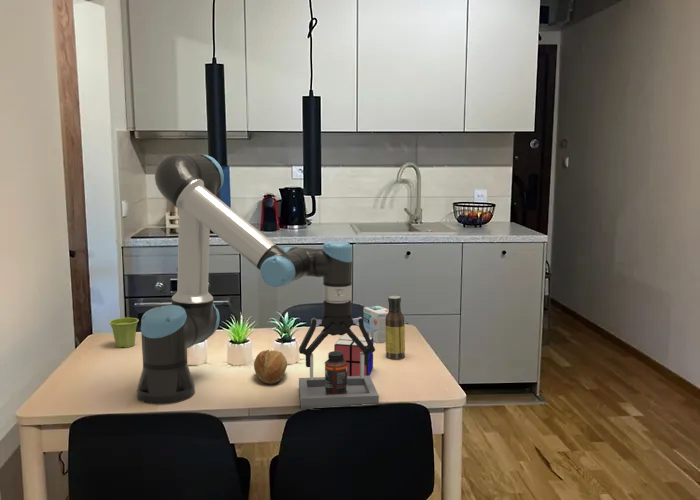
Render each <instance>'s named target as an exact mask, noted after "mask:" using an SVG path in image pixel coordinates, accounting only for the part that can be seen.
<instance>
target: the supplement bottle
mask: <svg viewBox="0 0 700 500" xmlns="http://www.w3.org/2000/svg"><path fill="white" fill-rule="evenodd" d="M327 353H328V355H327V356H328V359H326V361H325V362H324V375H325V376H324V377H325V392H326V394H327V395H337V394H346V393H347V362H346V361H345V360H344V359H343V352H341V351H333V350H332V351H329V352H327Z"/></svg>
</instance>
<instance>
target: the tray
mask: <svg viewBox="0 0 700 500" xmlns="http://www.w3.org/2000/svg"><path fill="white" fill-rule="evenodd" d="M298 393H299V400H300V401H299V402H300V407H301V408H300V409H301V411H303V410H306V409H310V410H314V409H313V408H319V407H332V406H351V405H362V404H379V400H380V399H379V397H380V395H379V393H378V391H377V389H376V386H375V385H374V382H373V380H372V378H371V376H370V375H369V376H364V379H361V377H360V376H347V393H346V394H337V395H327V394H326V392H325V376H319V377H318V376H317V377H316V376H313V380H310V377H298Z"/></svg>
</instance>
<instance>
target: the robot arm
mask: <svg viewBox="0 0 700 500" xmlns="http://www.w3.org/2000/svg"><path fill="white" fill-rule="evenodd" d="M224 176H225V175H224V170H223V168H222V166H221V165H220V163H219V162H218V161H217V160H216V159H215V158H214V157H212V156H210V155H208V154H201V153H186V154H185V153H184V154H183V153H175V154H170V155H167V156H166V157H164V158H162V160H161V161H159V163H158V164H157V166H156V168H155V172H154V180H155V181H154V182H155V185H156V187H157V189H158V191H159V192H160V194H161V195H162V196H163V197H164V198H165V199H166V200H167V201H168V202H169V203H170V204H171V205H173V206H174V207H175V208H177V210H178V234H177V235H178V237H177V238H178V239H177V240H178V242H177V290H176V293H175V294H173V295H172V296H171V304H168V305H161V306H156V307H152V308H150V309H149V310H147V311H145V312H144V313H143V314H142V317H141V319H140V320H141V325H140V333H141V351H142V352H141V353H142V371H141V373H140V378H139V381H138V385H137V389H136V393H137V394H136V397H137V399H138V400H139V401H141V402H144V403H146V404H156V405H159V404H160V405H164V404H165V405H166V404H171V403H178V402H182V401H185V400H187V399H189V398H191V397H192V396H194V394H195V393H196V389H195V387H196V386H195V385H196V384H195V381H194V379H193V378H194V377H193V376H192V373H191V371H190V368H189V365H188V349H190V348H191V347H193V346H195V345H198V344H199V343H203V342H205V341H206V340H209V338H210V337H212V336H213V335H214V334H215V333H216V332H217V330H218V328H219V325H220V320H221V319H220V318H221V317H220V312H219V309H218V308H217V307H216V305H215V303H214V296H213V295H212V294H211V293H210V292H209V275H210V274H209V273H210V272H209V270H210V269H209V267H210V266H209V265H210V237H211V236H210V234H211V232H213V234H215V235H216V236H218V237H219V238H220V239H221V240H222V241H223V242H225V243H226V244H227V245H228V246H230V247H231V248H232V249H234V251H236V253H238V254H239V255H241V256H242V257H243V258H244V259H246V260H247V261H248V262H249V263H250V264H251V265H253V267H256V269H258V270H259V272H260V276H261V279H262V280H263V282H264V283H265V284H266V285H268V286H269V287H272V288H278V287H284V286H285V287H286V286H287V285H289V284H291V283H292V282H293V281H297V280H299V279H301V278H303V277H313V278H314V277H315V278H322V281H323V282H322V290H323V291H322V292H323V293H322V297H323V300H324V301H323V302H322V318H316V317H314V316H313V317H311V319H310V326H309V328H308V330H307V331H306V333H305V336H304V337H303V340H302V342H301V343H300V346H299V348H298V352H299V354H303V355H304V356H305V367H306V368H309V378H310V380H313V377H314V354H313V352H314V351H315V350H316V349H317V348H318V347H319V345H321V343H322V342H323V340H324V339H326V338H327V337H328V336H329V335H331V336H345V335H346V336H349V337H350V338H351V339H352V340H353V341H354V342H355V343H356V345H357V346H358V347H359V348H360V349H361V350H362V351H363V352H360V377H361V379H364V366H367V365H368V354H369V353H370V352H373V353H374V352H375V351H376V348H375V346H374V343H373V344H372V342H371V340H370V338H369V336H368V334H367V332H366V330H365V328H364V323H363V317H362V316H358V317H356V318H353V317H352V309H353V308H352V307H353V305H352V301H351V300H352V296H353V295H352V288H353V287H352V283H353V282H352V276H353V275H352V274H353V252H352V245H351V244H350V243H349V242H346V241H339V240H338V241H333V240H332V241H330V240H329V241H325V243H323V246H322V248H309V247H299V246H290V247H289V246H288V247H283V248H281V247H279V246H278V245H277V244H276V243H275V242H273V241H272V240H271V239H270V238H268V237H267V236H266V235H265V234H263V233H262V232H261V231H259V230H258V229H257V228H256V227H255V226H253V225H252V224H251V223H250V222H249V221H247V220H246V219H245V218H244V217H243V216H241V215H240V214H239V213H237V212H236V211H235V210H234V209H233V208H231V207H230V206H228V205H227V204H226V203H225V202H224V201H223V200H221V199H220V198H219V197H218V196H217V194H218V193H219V191H220V190H221V189H222V187H223V185H224V181H225V180H224V179H225V177H224ZM210 231H211V232H210ZM354 324H355V326H356V327H358V328H359V330H360V332H361V334H362V337H364V338H365V340H366V342H367V344H368V346H369V347H367V348H366V347H365V346H364V345H363V343H362V342H361V341H360V340H359V339H358V338H357V337H358V336H357V335H356V334H355V333H354V332H353V331H352V329H351V327H352V326H353V325H354ZM320 325H322V327H323V329H322V330H320V331H321V332H320V333H319V334H318V335H317V336H316V337H315V339H314V340H313V341H312V342H311V343H310V345H309V342H310V341H311V338H312V336H313V335H314V333H315V331H316V328H318V327H319V326H320ZM308 345H309V346H308Z"/></svg>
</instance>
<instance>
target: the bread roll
mask: <svg viewBox="0 0 700 500" xmlns="http://www.w3.org/2000/svg"><path fill="white" fill-rule="evenodd" d="M287 367H288V361H287V358H286V356H285V355H284V353H282V351H278V350H270V349H267V350H262V351H260V352H259V353H258V354H257V355H256V357H255V359H254V361H253V369H254V373H255V374H256V376H257V377H258V379H259V380H260V381H262V382H264V383H266V384H270V385H271V384H276V383H277V382H280V380H281V379H283V376H284V374H285V372H286V369H287Z"/></svg>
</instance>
